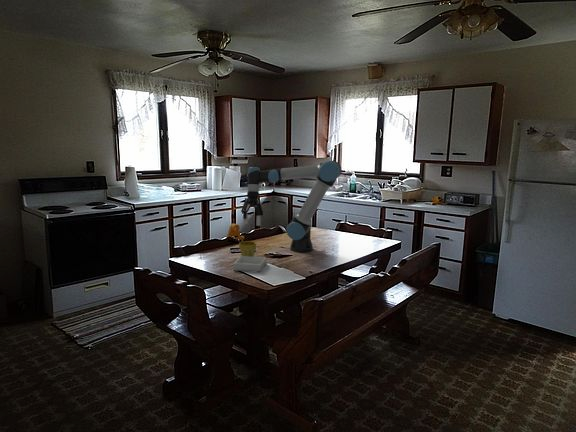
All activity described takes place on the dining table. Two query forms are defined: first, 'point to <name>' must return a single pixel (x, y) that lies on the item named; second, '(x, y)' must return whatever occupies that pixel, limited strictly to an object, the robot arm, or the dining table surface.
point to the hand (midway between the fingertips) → (252, 225)
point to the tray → (249, 263)
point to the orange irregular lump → (235, 232)
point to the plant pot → (247, 248)
